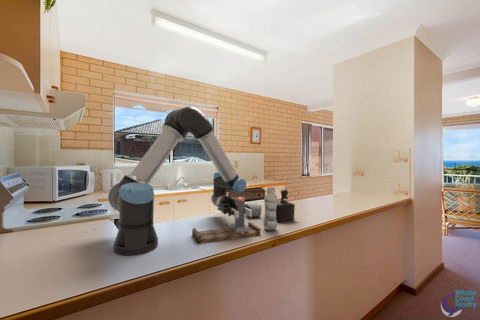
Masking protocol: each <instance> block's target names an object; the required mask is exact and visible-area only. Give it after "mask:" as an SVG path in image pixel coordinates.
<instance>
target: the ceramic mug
mask: <svg viewBox="0 0 480 320" xmlns="http://www.w3.org/2000/svg"><path fill="white" fill-rule="evenodd" d="M245 205H247V206H250V210H252V217H251V218H259V217H261V215H262V207H261V204H259V203H248V202H247V203H245ZM245 217H246V218H250V217H249V216H248V215H246V214H245Z"/></svg>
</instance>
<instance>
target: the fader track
mask: <svg viewBox="0 0 480 320" xmlns="http://www.w3.org/2000/svg"><path fill="white" fill-rule="evenodd" d="M247 226H248V227H249V232H242V233H235V232H234V231H233V230H232V229H230V227H224V228H216V229H208V230H197V229H196V228H194V227H193V228H192V232H191V233H192V235H191V236H192V237H193V239H194V241H195V242H196V243H197V244H198V245H199V244H205V243H206V244H207V243H212V242H220V241H227V240H228V241H229V240H234V239H235V240H237V239H242V238H250V237H257V236H261V227H259V226H258V225H255V224H254V223H253V222H251V221H250V222H248V223H247Z"/></svg>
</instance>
